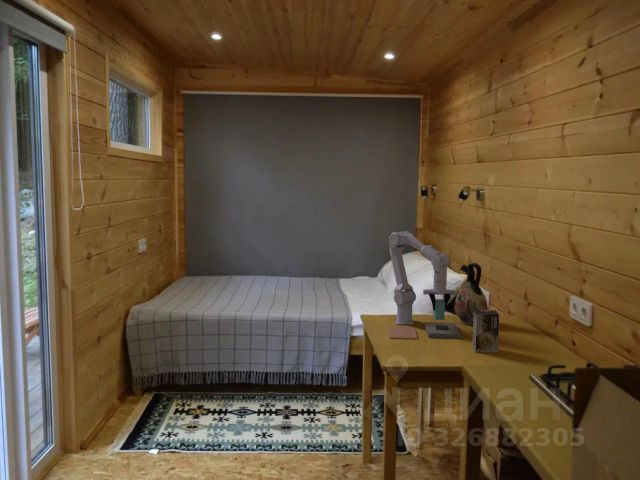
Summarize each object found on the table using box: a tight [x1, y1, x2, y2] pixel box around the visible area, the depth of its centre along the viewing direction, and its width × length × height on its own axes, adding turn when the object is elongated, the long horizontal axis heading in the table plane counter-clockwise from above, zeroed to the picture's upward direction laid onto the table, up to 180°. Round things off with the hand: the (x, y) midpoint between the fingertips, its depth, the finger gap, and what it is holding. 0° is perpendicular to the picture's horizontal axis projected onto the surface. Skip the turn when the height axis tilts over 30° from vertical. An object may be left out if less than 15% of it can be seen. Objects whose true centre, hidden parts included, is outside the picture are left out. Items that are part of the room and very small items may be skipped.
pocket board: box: [424, 321, 462, 339], centre depth 241 cm, size 18×14×2 cm
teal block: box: [433, 298, 446, 321], centre depth 240 cm, size 6×4×8 cm, turn 175°
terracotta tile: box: [388, 326, 418, 340], centre depth 239 cm, size 16×12×1 cm
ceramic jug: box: [454, 262, 489, 326], centre depth 254 cm, size 17×15×30 cm
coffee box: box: [472, 309, 500, 354], centre depth 215 cm, size 9×6×16 cm
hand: (439, 310), depth 240 cm, fingers closed on teal block, 4 cm apart
